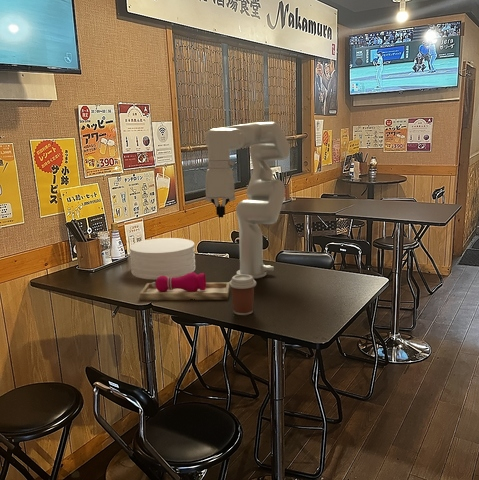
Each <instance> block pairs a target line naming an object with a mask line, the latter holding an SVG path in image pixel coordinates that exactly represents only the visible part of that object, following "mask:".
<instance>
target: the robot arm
mask: <svg viewBox="0 0 479 480" xmlns="http://www.w3.org/2000/svg"><path fill="white" fill-rule="evenodd" d="M204 142H205V145H206V146H207V159H208V160H207V163H208V169H206V173H205V197H204V198H205V199H204V200H205V201H206V202H209V203H212V204H213V205H215V207H216V216H218V217H217V218H219V219H220V218H221V219H222V218H224V216H225V215H226V205H228V203H229V202H233V201H235V200H236V195H235V193H236V191H235V188H236V187H235V177H234V176H235V175H234V172H233V171H234V170H233V169H232V168H231V167H232V166H233V167H234V166H235V162H234V161H231V157H230V156H231V155H230V154H231V153H230V151H236V150H240V149H242V148H247V147H250V148H249V154H250V159H251V160H250V161H251V164H252V168H253V169H252V170H253V171H252V173H251V177H250V179H249V183H248V186H247V188H246V197H247V198H248V199H243V200H241V201H239V202H238V203H237V205H236V207H235V214H236V218H237V223H238V234H239V235H238V238H239V245H238V247H239V270H237V271H236V275H240V274H246V275H251V276H252V277H253V279H254V280H255V279H261V278H263V277H265V276H267V272H274V267H275V266H274V265H273V266H271V265H270V264H269V265H265V264H264V262H263V259H264V258H263V255H264V254H263V253H264V252H263V232H262V230H261V227H260V226H259V225H273V224H276V223H277V221H278V219H279V217H280V214H281V209H282V206H283V203H284V199H285V196H286V195H285V194H286V188H285V184H284V182H283V181H282V180H280V179H276V178H273V175H274V174H273V171H272V168H271V167H270V165H269V164H268V163H267V161H284V160H286V159H288V157H289V156H290V155H289V154H290V150H291V149H290V144H289V142H288V140H287V137H286V136H285V133H284V131H283V128H282V127H281V126H280V124H278V123H277V122H275V121H264V122H263V121H262V122H261V121H260V122H258V121H257V122H249V123H245V124H244V123H243V124H237V125H232V126H231V125H230V126H223V127H217V128H216V127H215V128H211V129H209V130H208V131H207V132H206V134H205V138H204ZM219 199H222V200H221V204H220V200H219Z"/></svg>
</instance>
